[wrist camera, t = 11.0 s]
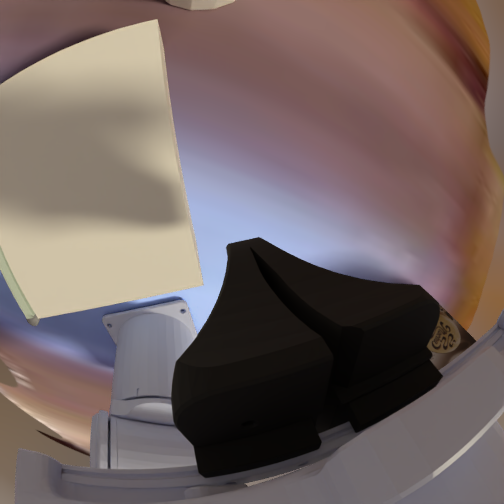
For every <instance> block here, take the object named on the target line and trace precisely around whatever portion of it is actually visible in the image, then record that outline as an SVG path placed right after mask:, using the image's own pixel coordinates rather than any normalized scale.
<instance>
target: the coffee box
mask: <svg viewBox="0 0 504 504" xmlns="http://www.w3.org/2000/svg"><path fill="white" fill-rule="evenodd" d="M439 306H440V305H439ZM475 342H476V340H475V339H474V338H473V337H472V336H471V335H470V334H469V333H468V332H467V331H466V330H465V329H464V328H463V327H462V326H461V325H460V324H459V323H458V322H457V321H456V320H455V319H454V318H453V317H452V316H451V315H450V314H449V313H448V312H447V311H446V310H445V309H444V308H443V307H442V306H440V316H439V320H438V323H437V326H436V328H435V330H434V332H433V335H432V337H431V339H430V341H429V343H428V345H427V347H428V349H429V350H430V351H431V352H432V355H433V356H432V358H431V359H430V360H431V362H432V363H433V364H434V365H435V367H436V368H437V369H438V370H440V369H441V368H443V367H444V366H446V365H447V364H448V363H450V362H451V361H452V360H454V359H455V358H456V357H458V356H459V355H460V354H462V353H463V352H464V351H465V350H467V349H468V348H469V347H470V346H471V345H473V344H474V343H475Z"/></svg>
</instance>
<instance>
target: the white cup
mask: <svg viewBox="0 0 504 504" xmlns="http://www.w3.org/2000/svg"><path fill="white" fill-rule="evenodd" d="M165 1H166V2H167V3H169V4H170V5H173V6H177V7H181V8H184V9H188V10H209V9H216V8H219V7H221V6H224V5H227V4H230V3H233V2H235V1H236V0H165Z"/></svg>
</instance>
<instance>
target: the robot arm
mask: <svg viewBox="0 0 504 504" xmlns="http://www.w3.org/2000/svg"><path fill="white" fill-rule="evenodd" d="M226 249H227V255H228V261H227V268H226V273H225V277H224V281H223V285H222V288H221V291H220V294H219V296H218V299H217V301H216V304H215V306H214V308H213V310H212V312H211V314H210V316H209V318H208V319H207V321H206V323H205V324H204V326H203V327H202V329H201V330H200V332H199V333H198V334H197V331H196V329H195V326H194V323H193V320H192V317H191V314H190V311H189V308H188V305H187V302H186V301H184V300H177V301H172V302H167V303H162V304H158V305H153V306H148V307H143V308H138V309H133V310H128V311H123V312H118V313H113V314H108V315H104V316H103V319H102V322H103V324H104V325H105V327H106V329H107V331H108V332H109V334H110V336H111V337H112V339H113V341H114V342H115V344H116V345H117V348H116V356H115V364H114V373H113V383H112V395H111V405H110V411H109V416H108V412H106V411H103V410H100V411H99V414H98V413H97V414H95V415H94V416H93V417H92V425H91V439H90V467H80V466H71V465H64V464H61V463H60V462H58V461H57V460H55V459H54V458H52V457H50V456H48V455H45V454H43V453H39V452H34V451H30V450H25V449H21V448H20V449H18V455H17V464H16V477H15V504H504V430H503V428H502V427H501V426H500V424H499V423H498V422H497V419H498V418H499V417H500V416H501V414H502V413H503V412H504V309H503V311H502V313H501V314H500V316H499V318H498V320H497V323H496V324H495V325H494V326H493V327H492V328H491V329H490V330H489V331H488V332H487V333H486V334H484V335H483V336H482V337H481V338H480V339H479V340H478V341H476V342H475V343H474V344H473V345H471V346H470V347H469V348H468V349H467V350H465V351H464V352H463V353H462V354H460V355H459V356H458V357H456V358H455V359H454V360H452V361H451V362H450V363H448V364H447V365H446V366H444V367H443V368H441V369H440V370H438V369H437V368H436V367H435V365H434V364H433V363H432V362H431V360H430V359H431V358H432V356H433V355H432V352H431V351H430V350H429V349H428V347H427V345H428V343H429V341H430V339H431V337H432V335H433V332H434V330H435V328H436V326H437V323H438V320H439V316H440V306H439V303H438V302H437V301H436V300H435V299H434V298H433V297H432V296H431V295H430V294H429V293H428V292H427V291H425V290H424V289H423V288H422V287H421V286H420V285H410V284H393V283H384V282H377V281H370V280H365V279H360V278H355V277H351V276H347V275H343V274H339V273H336V272H333V271H330V270H327V269H324V268H321V267H318V266H315V265H313V264H311V263H308V262H306V261H304V260H301V259H299V258H297V257H295V256H293V255H291V254H289V253H287V252H285V251H283V250H282V249H280V248H278V247H276V246H274V245H272V244H271V243H269V242H267V241H265V240H264V239H262V238H259V237H258V238H253V239H249V240H244V241H239V242H235V243H230V244H228V245H227V247H226ZM181 309H185V310H184V311H182V310H181ZM109 324H111V325H109ZM308 465H309V466H308ZM305 466H307V467H305ZM302 467H304V468H302ZM299 468H302V469H299ZM296 469H299V470H297V471H294V472H292V473H289V474H286V475H283V476H281V477H278V478H275V479H272V480H269V481H265V482H262V483H259V484H256V485H252V486H249V487H248V486H247V485H246V484H244V483H249V482H253V481H257V480H261V479H265V478H269V477H273V476H277V475H280V474H284V473H287V472H290V471H293V470H296Z"/></svg>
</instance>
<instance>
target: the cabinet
mask: <svg viewBox="0 0 504 504" xmlns="http://www.w3.org/2000/svg"><path fill="white" fill-rule="evenodd" d="M0 246H1V249H2V251H3V253H4V255H5V258H6V260H7V262H8V264H9V266H10V268H11V271H12V273H13V275H14V277H15V279H16V281H17V282H18V284H19V286H20V288H21V290H22V292H23V294H24V295H25V297H26V299H27V301H28V302H29V304H30V306H31V308H32V309H33V311H34V313H35V314H36V316H37V317H38V319H39V318H45V317H51V316H56V315H61V314H67V313H72V312H77V311H82V310H88V309H93V308H98V307H103V306H108V305H113V304H118V303H123V302H128V301H132V300H137V299H142V298H147V297H152V296H156V295H161V294H166V293H170V292H175V291H179V290H184V289H189V288H193V287H198V286H202V285H204V284H203V279H202V273H201V268H200V262H199V256H198V250H197V244H196V238H195V234H194V229H193V224H192V220H191V215H190V210H189V205H188V200H187V195H186V190H185V185H184V180H183V175H182V169H181V164H180V158H179V153H178V147H177V141H176V135H175V129H174V122H173V116H172V109H171V102H170V95H169V88H168V80H167V72H166V64H165V55H164V47H163V43H162V38H161V34H160V29H159V24H158V19H156V20H152V21H147V22H143V23H139V24H135V25H131V26H127V27H124V28H120V29H117V30H114V31H110V32H107V33H104V34H101V35H98V36H96V37H93V38H90V39H87V40H85V41H82V42H80V43H77V44H75V45H72V46H70V47H68V48H66V49H63V50H61V51H59V52H57V53H55V54H53V55H50V56H48V57H46V58H44V59H43V60H41V61H39V62H37V63H35V64H33V65H31V66H30V67H28V68H26V69H24V70H23V71H21V72H19V73H18V74H16V75H14V76H13V77H11V78H10V79H8V80H6V81H5V82H3V83H2V84H0Z"/></svg>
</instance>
